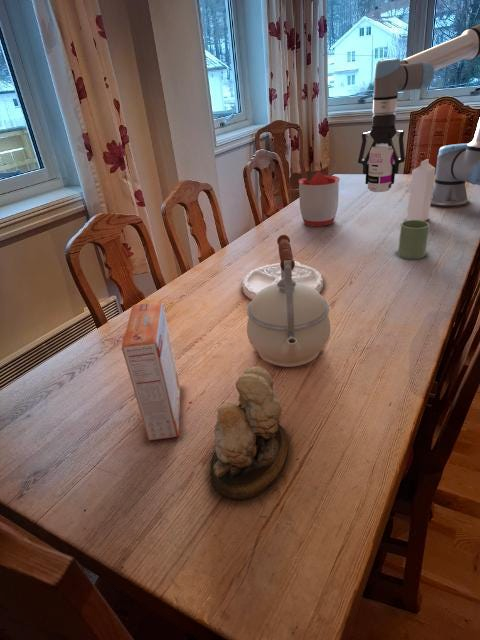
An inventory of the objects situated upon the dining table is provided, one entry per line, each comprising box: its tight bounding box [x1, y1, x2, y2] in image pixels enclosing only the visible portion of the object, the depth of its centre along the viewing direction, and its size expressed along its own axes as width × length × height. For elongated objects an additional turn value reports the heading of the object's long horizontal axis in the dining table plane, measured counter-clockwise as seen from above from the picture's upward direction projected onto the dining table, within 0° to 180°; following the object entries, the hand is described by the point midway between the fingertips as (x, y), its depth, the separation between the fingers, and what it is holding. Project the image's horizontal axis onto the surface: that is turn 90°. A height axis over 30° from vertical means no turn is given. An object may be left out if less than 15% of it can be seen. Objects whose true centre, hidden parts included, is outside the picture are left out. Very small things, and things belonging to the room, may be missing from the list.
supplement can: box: [367, 143, 395, 193], centre depth 151 cm, size 8×8×15 cm
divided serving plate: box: [242, 260, 324, 301], centre depth 127 cm, size 24×27×2 cm
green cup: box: [397, 220, 430, 260], centre depth 136 cm, size 8×8×10 cm
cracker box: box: [121, 301, 182, 442], centre depth 77 cm, size 14×6×21 cm, turn 5°
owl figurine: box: [209, 365, 289, 501], centre depth 67 cm, size 18×12×17 cm, turn 157°
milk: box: [406, 158, 436, 221], centre depth 161 cm, size 6×6×22 cm
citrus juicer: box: [298, 171, 340, 228], centre depth 169 cm, size 16×17×20 cm
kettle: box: [246, 234, 331, 368], centre depth 90 cm, size 25×18×25 cm
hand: (379, 183), depth 154 cm, fingers closed on supplement can, 8 cm apart
